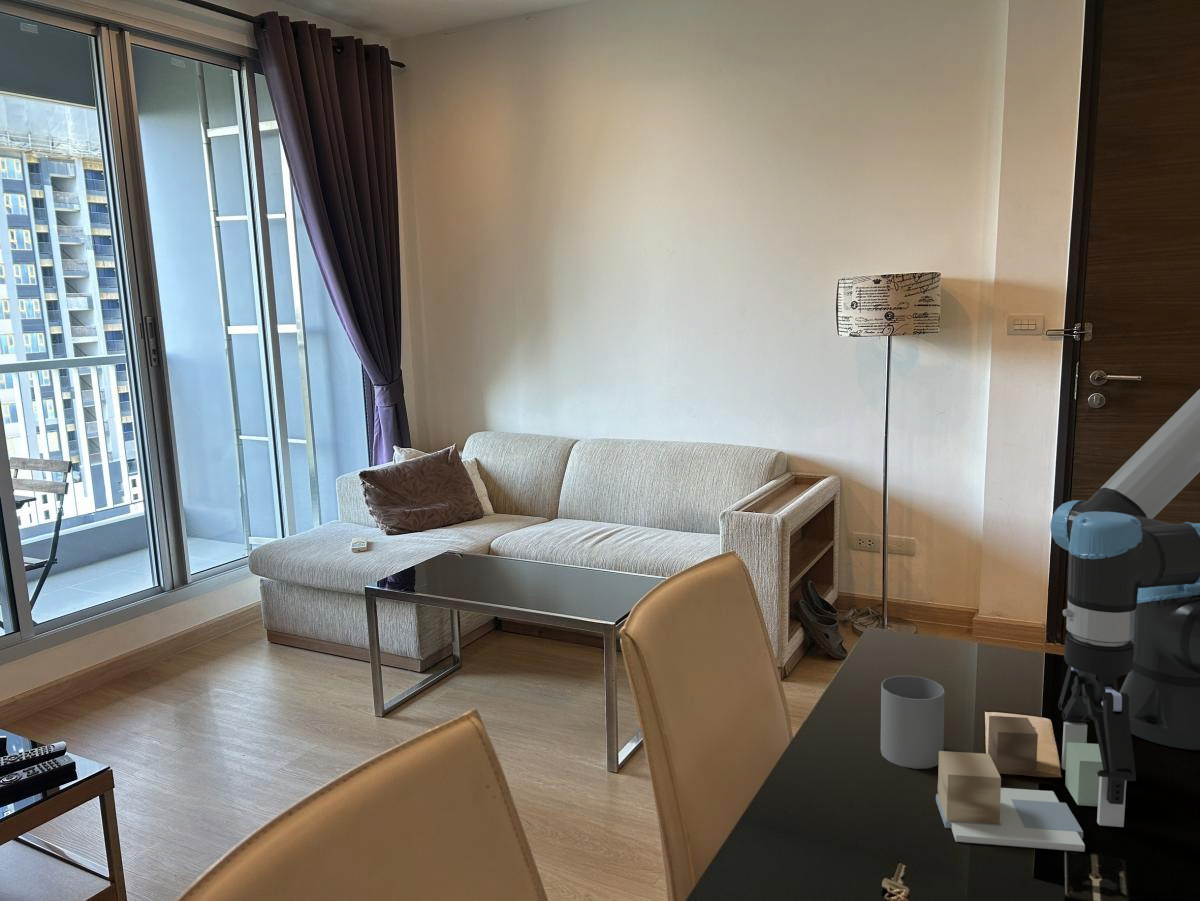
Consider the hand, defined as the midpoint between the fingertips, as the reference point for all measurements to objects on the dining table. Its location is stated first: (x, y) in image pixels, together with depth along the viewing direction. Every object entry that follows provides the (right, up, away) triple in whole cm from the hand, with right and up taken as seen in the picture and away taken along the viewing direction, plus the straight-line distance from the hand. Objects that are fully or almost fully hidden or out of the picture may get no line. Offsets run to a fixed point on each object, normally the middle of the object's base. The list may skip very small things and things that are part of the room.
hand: (1090, 795), depth 113 cm
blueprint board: (-13, -1, -4) cm, 14 cm away
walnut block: (-6, +1, +8) cm, 10 cm away
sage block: (0, 0, 0) cm, 0 cm away
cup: (-19, +1, +13) cm, 22 cm away
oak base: (-17, 0, -4) cm, 18 cm away
